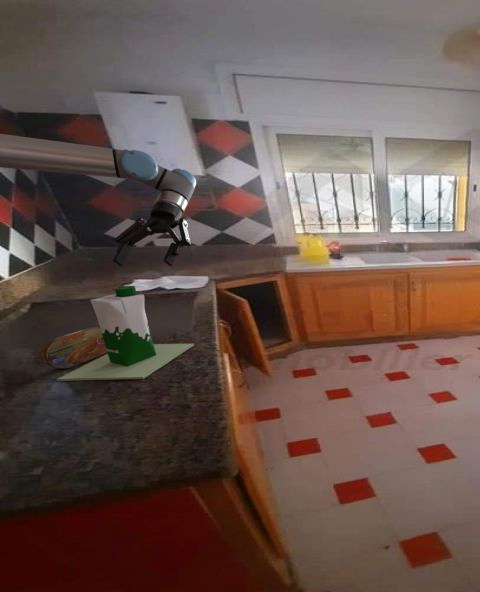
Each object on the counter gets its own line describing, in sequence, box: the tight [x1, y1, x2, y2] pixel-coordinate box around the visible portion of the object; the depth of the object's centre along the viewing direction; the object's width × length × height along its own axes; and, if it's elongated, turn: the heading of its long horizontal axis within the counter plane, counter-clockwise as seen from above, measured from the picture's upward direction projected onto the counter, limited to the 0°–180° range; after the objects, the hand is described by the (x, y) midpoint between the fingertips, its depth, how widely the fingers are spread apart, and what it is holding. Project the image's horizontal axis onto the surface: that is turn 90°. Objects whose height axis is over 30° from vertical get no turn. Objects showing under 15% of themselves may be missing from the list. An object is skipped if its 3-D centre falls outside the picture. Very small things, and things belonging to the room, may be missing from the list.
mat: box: [57, 343, 195, 382], centre depth 88 cm, size 20×20×1 cm
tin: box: [40, 326, 108, 370], centre depth 87 cm, size 15×3×8 cm, turn 170°
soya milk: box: [90, 285, 156, 366], centre depth 85 cm, size 9×9×20 cm
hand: (142, 263), depth 91 cm, fingers open, 13 cm apart
